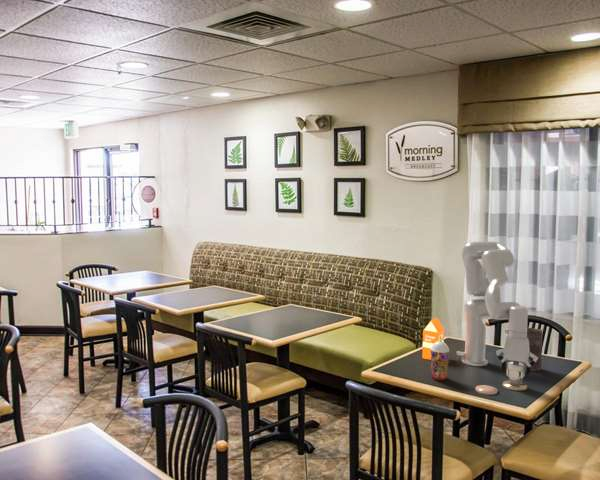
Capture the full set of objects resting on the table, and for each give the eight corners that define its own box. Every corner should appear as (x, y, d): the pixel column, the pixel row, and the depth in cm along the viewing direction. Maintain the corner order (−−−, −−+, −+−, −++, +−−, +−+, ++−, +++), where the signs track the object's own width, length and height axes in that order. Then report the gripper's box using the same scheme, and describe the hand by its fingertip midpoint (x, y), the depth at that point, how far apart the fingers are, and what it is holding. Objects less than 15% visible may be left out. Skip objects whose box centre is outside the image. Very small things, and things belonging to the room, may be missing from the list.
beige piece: (500, 387, 243) (500, 369, 242) (505, 380, 251) (506, 363, 250) (524, 392, 237) (525, 374, 236) (529, 385, 246) (530, 367, 245)
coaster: (472, 391, 238) (472, 389, 238) (478, 385, 245) (478, 383, 245) (494, 396, 233) (494, 394, 233) (499, 389, 240) (499, 387, 240)
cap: (505, 376, 243) (506, 362, 242) (509, 371, 248) (509, 358, 248) (521, 379, 239) (522, 365, 238) (525, 374, 245) (525, 361, 244)
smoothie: (438, 382, 248) (439, 339, 246) (425, 376, 255) (427, 334, 253) (452, 379, 252) (454, 336, 250) (439, 374, 259) (441, 332, 257)
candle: (520, 367, 269) (522, 327, 267) (532, 365, 272) (534, 325, 270) (533, 372, 262) (535, 331, 260) (544, 370, 265) (547, 329, 263)
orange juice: (422, 358, 282) (423, 319, 280) (428, 353, 290) (430, 316, 288) (436, 361, 278) (438, 321, 276) (443, 356, 285) (444, 318, 283)
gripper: (494, 333, 243) (493, 371, 245) (537, 339, 234) (535, 379, 235) (499, 329, 249) (497, 367, 251) (540, 335, 240) (538, 374, 242)
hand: (515, 372), depth 243 cm, fingers open, 9 cm apart
